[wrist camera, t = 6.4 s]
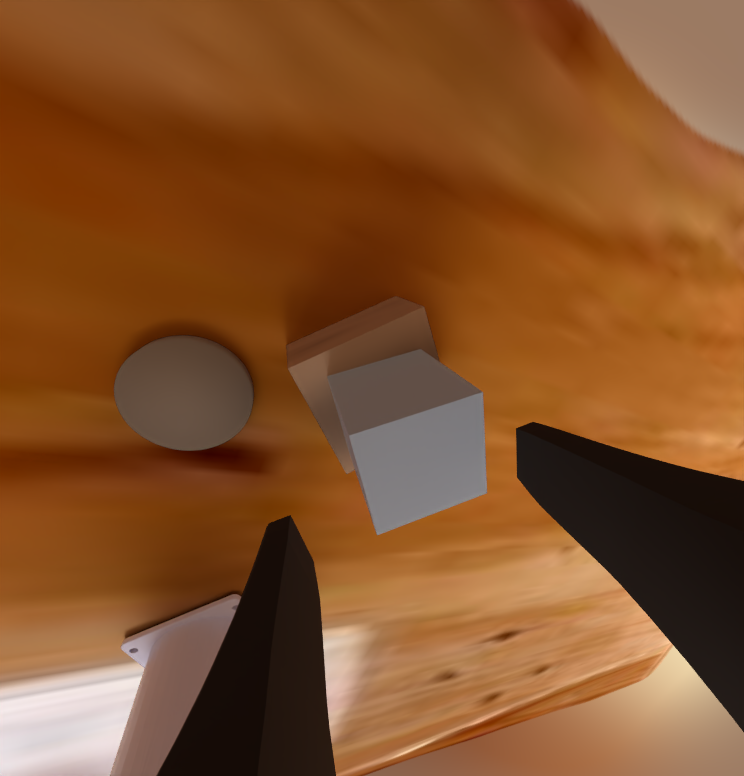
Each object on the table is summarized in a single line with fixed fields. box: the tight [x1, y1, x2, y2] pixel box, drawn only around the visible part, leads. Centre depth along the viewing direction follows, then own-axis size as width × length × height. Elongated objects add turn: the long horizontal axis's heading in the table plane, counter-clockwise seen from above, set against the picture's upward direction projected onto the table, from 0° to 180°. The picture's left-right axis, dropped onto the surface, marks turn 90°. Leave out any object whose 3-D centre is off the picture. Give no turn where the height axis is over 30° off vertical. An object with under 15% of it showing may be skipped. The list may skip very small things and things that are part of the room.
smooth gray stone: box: [114, 335, 254, 451], centre depth 16 cm, size 6×6×1 cm
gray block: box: [327, 349, 487, 535], centre depth 13 cm, size 4×4×5 cm
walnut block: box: [286, 296, 440, 474], centre depth 17 cm, size 6×6×4 cm
